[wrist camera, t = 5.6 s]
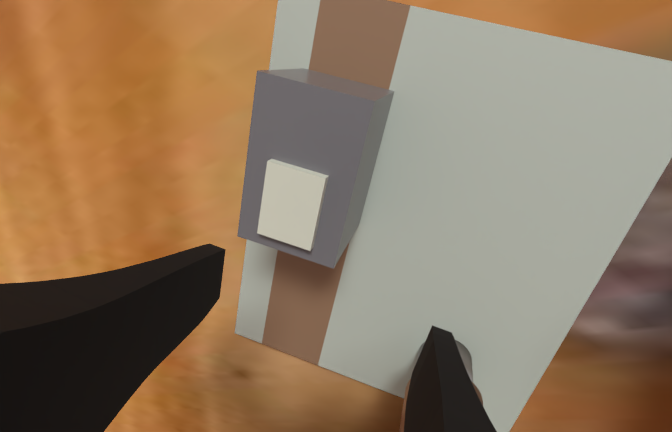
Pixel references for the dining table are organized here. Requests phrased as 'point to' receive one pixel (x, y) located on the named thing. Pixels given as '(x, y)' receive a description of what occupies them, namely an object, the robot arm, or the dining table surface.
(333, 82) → the block
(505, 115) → the panel
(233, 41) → the dining table surface
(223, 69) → the dining table surface
